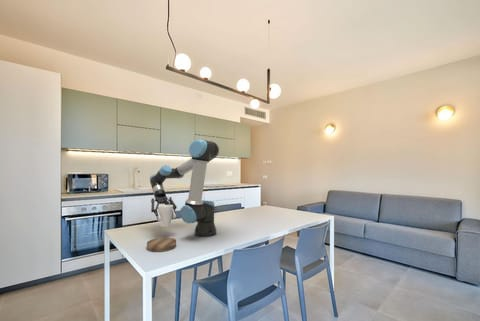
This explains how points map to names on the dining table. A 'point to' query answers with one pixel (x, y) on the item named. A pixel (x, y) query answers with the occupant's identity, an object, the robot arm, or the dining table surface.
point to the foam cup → (165, 215)
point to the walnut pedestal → (161, 244)
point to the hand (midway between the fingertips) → (167, 218)
